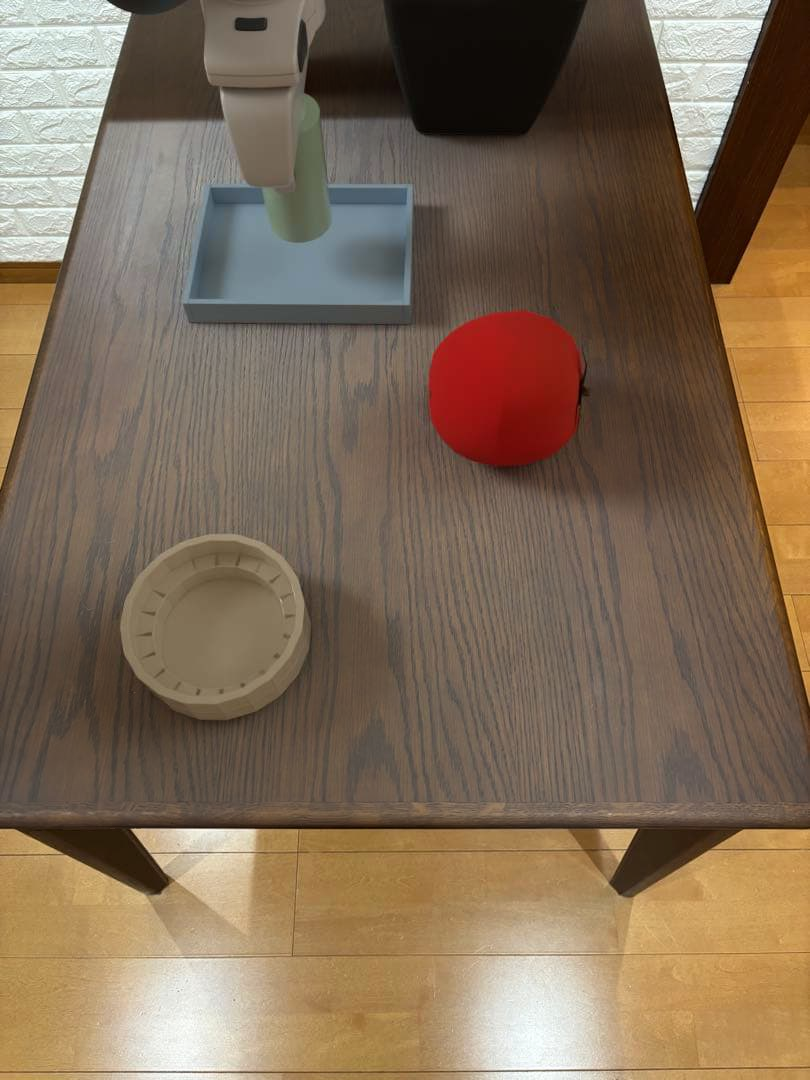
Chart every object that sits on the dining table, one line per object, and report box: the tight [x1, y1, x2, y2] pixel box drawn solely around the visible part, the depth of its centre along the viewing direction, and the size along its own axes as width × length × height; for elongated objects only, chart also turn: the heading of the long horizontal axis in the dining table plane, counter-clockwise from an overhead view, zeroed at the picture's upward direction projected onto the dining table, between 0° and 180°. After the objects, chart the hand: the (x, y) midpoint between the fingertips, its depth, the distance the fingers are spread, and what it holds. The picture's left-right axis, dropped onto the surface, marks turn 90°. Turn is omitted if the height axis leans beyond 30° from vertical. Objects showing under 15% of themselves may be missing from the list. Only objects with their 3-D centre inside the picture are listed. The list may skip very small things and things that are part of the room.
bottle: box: [261, 92, 332, 243], centre depth 70 cm, size 6×6×17 cm
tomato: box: [427, 309, 592, 467], centre depth 68 cm, size 13×13×13 cm
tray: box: [181, 182, 414, 325], centre depth 81 cm, size 21×16×3 cm
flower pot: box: [382, 0, 588, 135], centre depth 86 cm, size 19×19×17 cm
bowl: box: [119, 533, 312, 721], centre depth 62 cm, size 13×13×5 cm
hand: (289, 158), depth 72 cm, fingers closed on bottle, 6 cm apart
